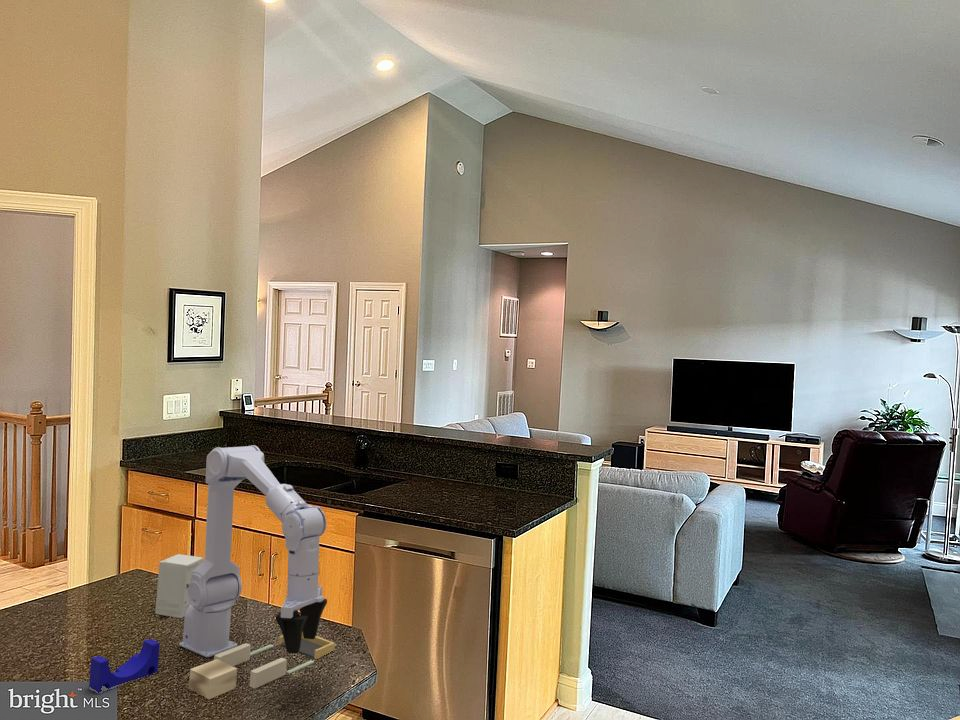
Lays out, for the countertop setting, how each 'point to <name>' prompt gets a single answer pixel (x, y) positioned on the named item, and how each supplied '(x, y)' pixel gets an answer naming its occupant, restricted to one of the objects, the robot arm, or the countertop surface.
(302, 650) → the open-sided tray
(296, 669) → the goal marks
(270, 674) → the cream parallel guide rails
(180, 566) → the supplement box
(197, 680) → the beech block
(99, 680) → the blue arch block
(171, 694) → the countertop surface
